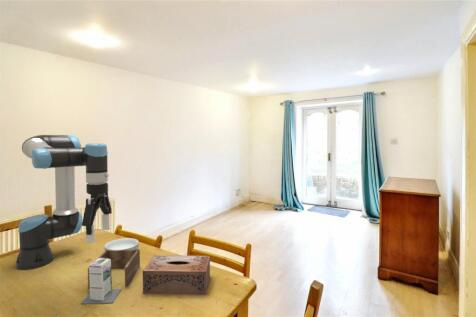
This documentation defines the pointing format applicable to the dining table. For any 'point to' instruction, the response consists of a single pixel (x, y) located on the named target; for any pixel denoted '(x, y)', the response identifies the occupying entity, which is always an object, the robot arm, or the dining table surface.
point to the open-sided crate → (123, 262)
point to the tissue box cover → (176, 275)
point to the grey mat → (109, 299)
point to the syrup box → (100, 279)
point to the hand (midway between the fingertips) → (98, 235)
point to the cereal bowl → (122, 244)
